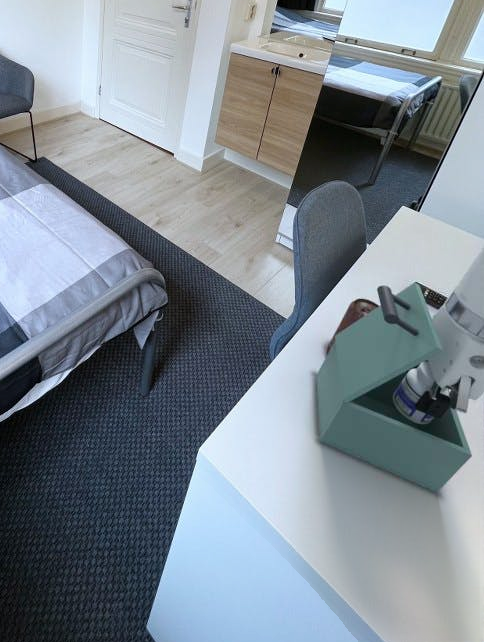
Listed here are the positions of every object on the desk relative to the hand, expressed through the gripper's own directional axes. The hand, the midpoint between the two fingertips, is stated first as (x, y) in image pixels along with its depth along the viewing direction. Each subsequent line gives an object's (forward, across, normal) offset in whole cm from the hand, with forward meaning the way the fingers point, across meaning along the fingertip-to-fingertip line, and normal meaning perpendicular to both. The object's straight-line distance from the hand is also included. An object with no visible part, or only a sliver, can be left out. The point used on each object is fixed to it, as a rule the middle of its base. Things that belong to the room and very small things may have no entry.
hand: (421, 393), depth 66 cm
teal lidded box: (+12, 0, +3) cm, 13 cm away
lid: (-7, 0, +8) cm, 11 cm away
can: (+12, +13, +6) cm, 19 cm away
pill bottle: (+4, 0, 0) cm, 4 cm away
